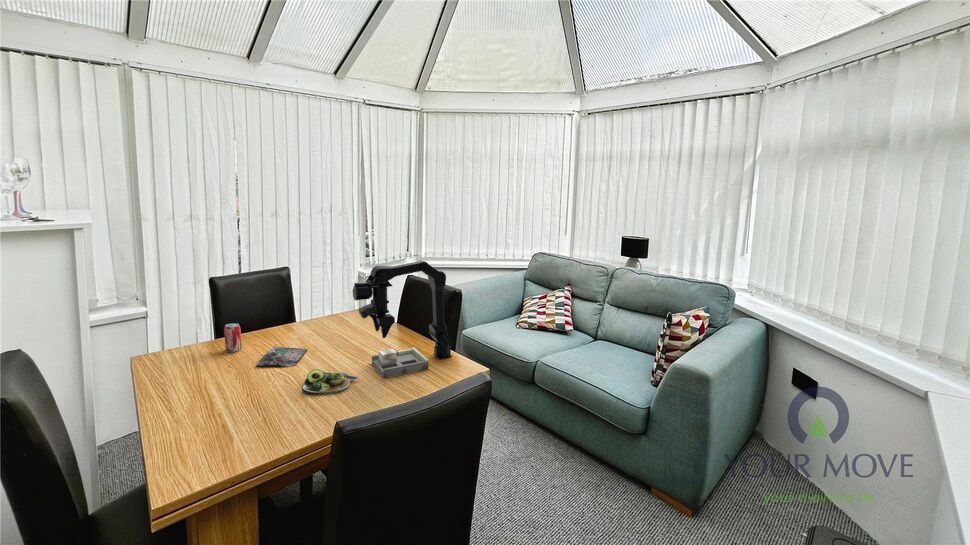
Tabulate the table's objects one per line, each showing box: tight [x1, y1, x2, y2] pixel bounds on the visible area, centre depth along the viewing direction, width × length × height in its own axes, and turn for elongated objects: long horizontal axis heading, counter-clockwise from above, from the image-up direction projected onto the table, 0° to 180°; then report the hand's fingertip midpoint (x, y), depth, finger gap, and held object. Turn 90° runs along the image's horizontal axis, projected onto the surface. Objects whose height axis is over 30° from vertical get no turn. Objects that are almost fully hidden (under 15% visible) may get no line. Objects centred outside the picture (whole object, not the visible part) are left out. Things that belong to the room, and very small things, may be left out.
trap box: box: [371, 347, 429, 379], centre depth 183 cm, size 19×16×4 cm
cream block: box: [378, 348, 397, 364], centre depth 184 cm, size 6×5×4 cm
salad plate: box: [302, 368, 359, 396], centre depth 166 cm, size 19×18×5 cm
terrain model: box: [255, 345, 308, 368], centre depth 189 cm, size 20×15×3 cm
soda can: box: [223, 322, 243, 353], centre depth 193 cm, size 6×6×12 cm
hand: (380, 334), depth 179 cm, fingers open, 9 cm apart
